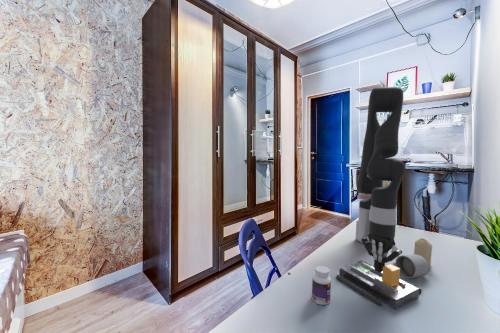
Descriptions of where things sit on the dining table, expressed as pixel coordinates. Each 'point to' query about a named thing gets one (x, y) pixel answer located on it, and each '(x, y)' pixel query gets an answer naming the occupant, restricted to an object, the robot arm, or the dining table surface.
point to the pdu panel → (379, 284)
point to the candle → (423, 249)
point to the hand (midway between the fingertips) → (378, 271)
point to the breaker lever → (391, 275)
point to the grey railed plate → (364, 291)
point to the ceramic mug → (412, 265)
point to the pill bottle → (321, 285)
